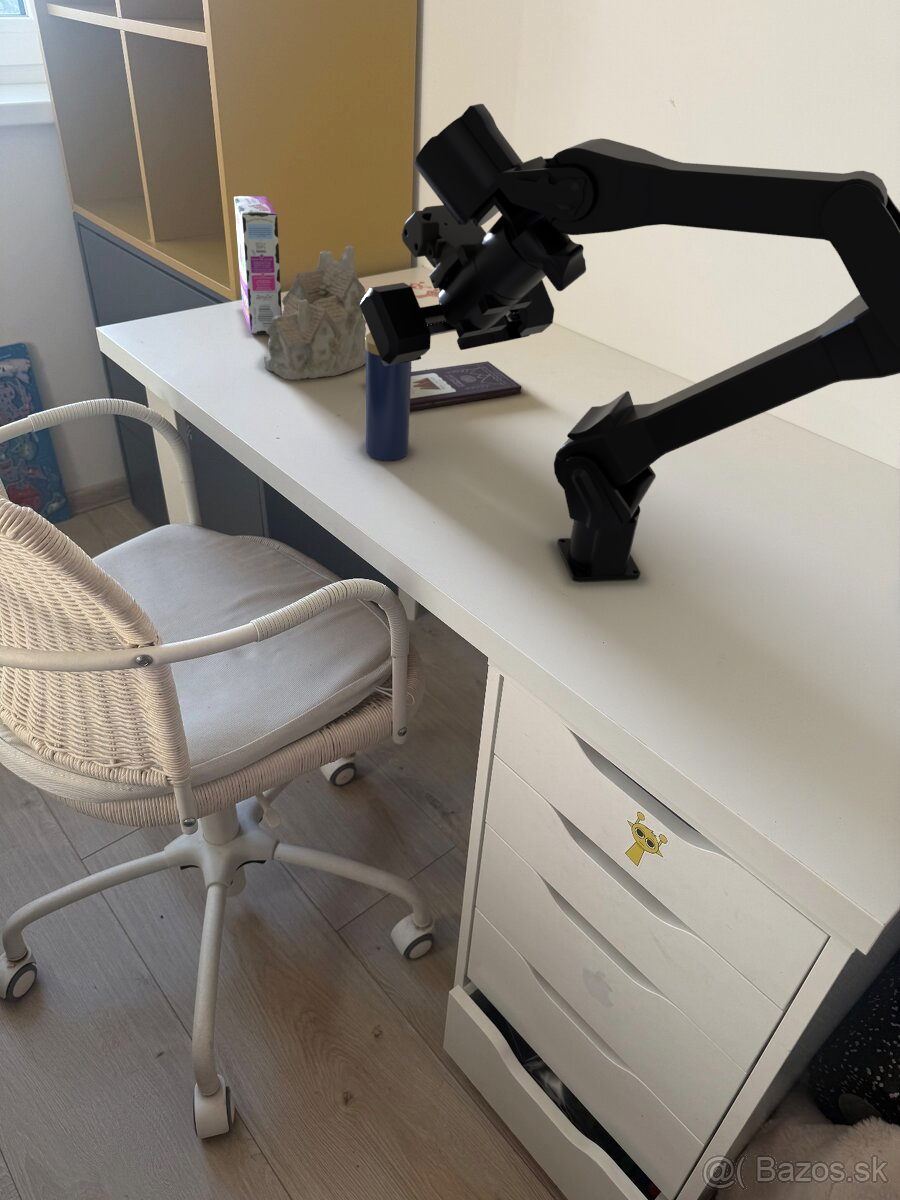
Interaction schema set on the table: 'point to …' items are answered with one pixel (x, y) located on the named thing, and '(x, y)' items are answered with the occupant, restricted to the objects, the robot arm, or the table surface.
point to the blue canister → (386, 406)
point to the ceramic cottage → (320, 322)
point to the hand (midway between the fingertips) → (422, 353)
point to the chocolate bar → (459, 385)
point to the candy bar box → (258, 261)
